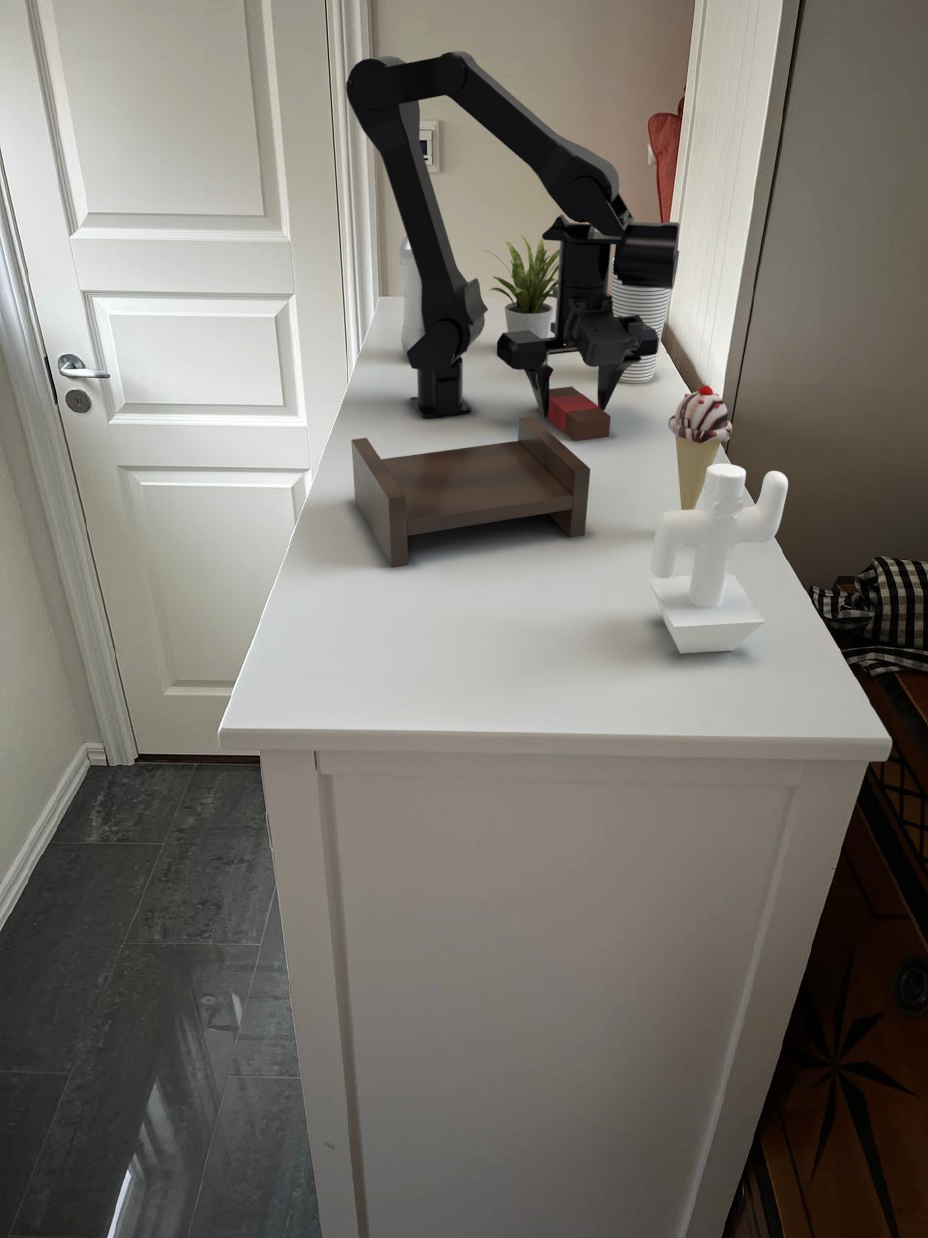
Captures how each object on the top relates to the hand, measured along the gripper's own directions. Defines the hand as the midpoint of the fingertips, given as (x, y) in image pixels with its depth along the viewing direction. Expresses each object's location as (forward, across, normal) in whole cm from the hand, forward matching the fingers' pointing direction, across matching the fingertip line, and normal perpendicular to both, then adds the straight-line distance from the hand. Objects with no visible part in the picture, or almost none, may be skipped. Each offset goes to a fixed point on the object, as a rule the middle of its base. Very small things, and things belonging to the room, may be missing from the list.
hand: (573, 413), depth 115 cm
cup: (+1, +15, +13) cm, 20 cm away
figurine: (+1, -10, -46) cm, 47 cm away
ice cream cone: (+1, -2, -30) cm, 30 cm away
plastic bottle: (+1, -10, +30) cm, 32 cm away
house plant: (+1, +7, +28) cm, 29 cm away
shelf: (+1, -21, -20) cm, 29 cm away
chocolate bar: (+1, 0, 0) cm, 1 cm away
